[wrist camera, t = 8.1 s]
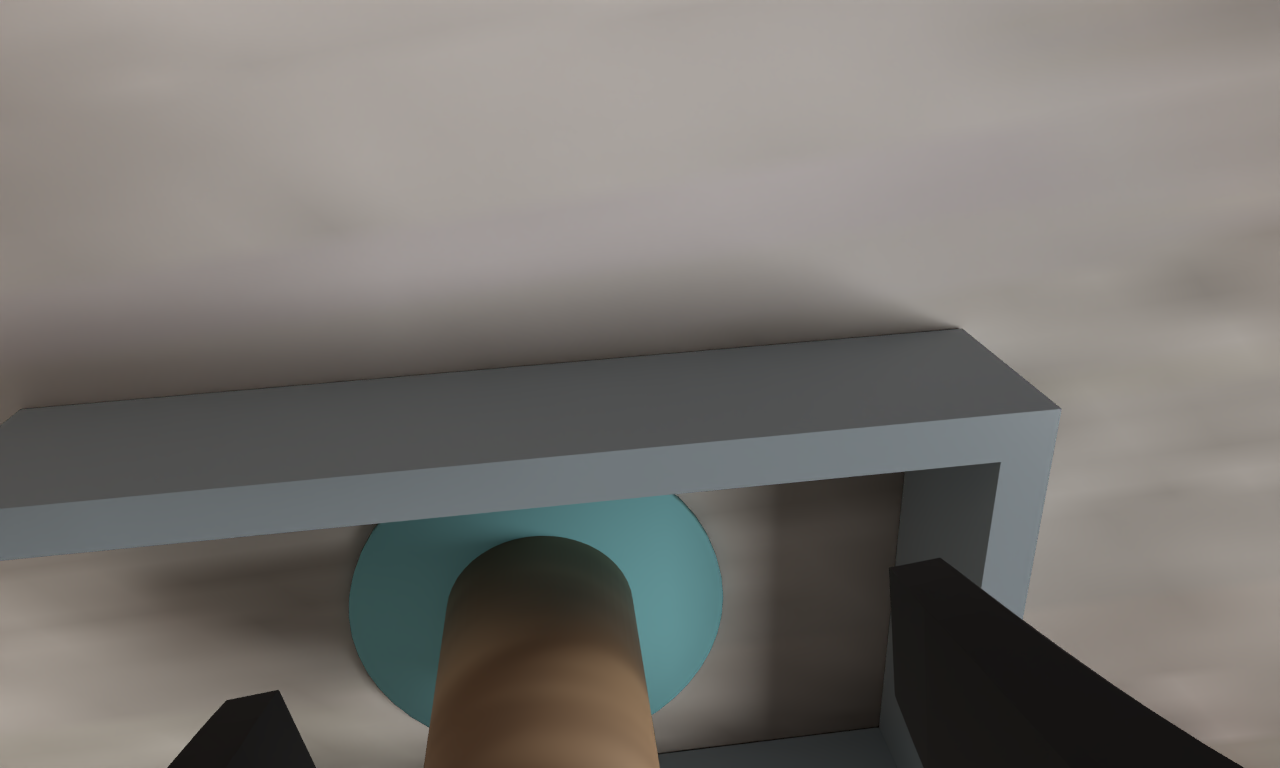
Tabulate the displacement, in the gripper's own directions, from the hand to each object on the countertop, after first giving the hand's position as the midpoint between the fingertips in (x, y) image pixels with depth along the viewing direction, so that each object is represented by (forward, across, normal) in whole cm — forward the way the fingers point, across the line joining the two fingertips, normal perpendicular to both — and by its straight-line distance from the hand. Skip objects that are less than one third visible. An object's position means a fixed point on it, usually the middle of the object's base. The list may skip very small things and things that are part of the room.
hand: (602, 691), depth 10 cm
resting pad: (+9, +2, +6) cm, 11 cm away
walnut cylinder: (+9, +2, +6) cm, 11 cm away
